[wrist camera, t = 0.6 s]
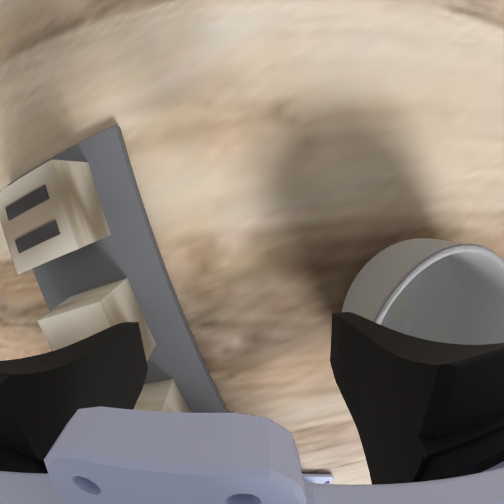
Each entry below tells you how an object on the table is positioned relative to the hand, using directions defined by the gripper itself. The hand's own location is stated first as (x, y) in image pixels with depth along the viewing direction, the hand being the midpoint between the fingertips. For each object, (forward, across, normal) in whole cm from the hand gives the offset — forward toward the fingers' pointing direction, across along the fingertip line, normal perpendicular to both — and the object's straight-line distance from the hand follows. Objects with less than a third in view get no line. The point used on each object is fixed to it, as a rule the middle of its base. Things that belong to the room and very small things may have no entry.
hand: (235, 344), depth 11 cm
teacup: (+10, -12, +4) cm, 16 cm away
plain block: (+9, +9, +3) cm, 13 cm away
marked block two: (+9, +11, -5) cm, 15 cm away
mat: (+10, +9, +3) cm, 14 cm away
